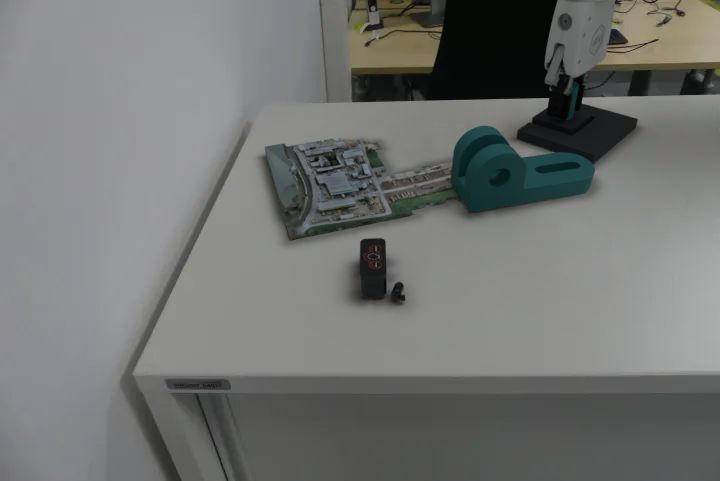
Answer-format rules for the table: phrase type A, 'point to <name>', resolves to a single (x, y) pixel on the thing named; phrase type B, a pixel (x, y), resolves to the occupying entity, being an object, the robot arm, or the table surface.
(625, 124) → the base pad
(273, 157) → the model
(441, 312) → the table surface
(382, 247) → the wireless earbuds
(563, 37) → the robot arm
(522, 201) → the bracket
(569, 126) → the teal peg with base
